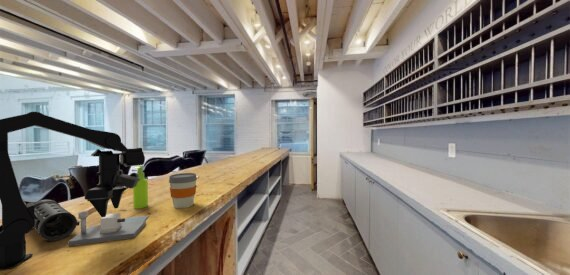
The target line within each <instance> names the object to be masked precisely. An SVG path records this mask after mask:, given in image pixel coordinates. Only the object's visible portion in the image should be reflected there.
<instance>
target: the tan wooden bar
mask: <svg viewBox="0 0 570 275" xmlns="http://www.w3.org/2000/svg"><path fill="white" fill-rule="evenodd" d="M96 212H98V211H97V210H96V209H95V207H94V206H93V205H91V206H89V207H87V208H85V209H83V210H81V211H79V212H78V219H79V220H81V219H83V218H86V219H87V218H88V217H89V216H91V215H92V214H94V213H96Z"/></svg>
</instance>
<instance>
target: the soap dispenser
mask: <svg viewBox="0 0 570 275" xmlns="http://www.w3.org/2000/svg"><path fill="white" fill-rule="evenodd" d="M143 168H144V165H137V166H136V167H134V170H137V172H136V173H138V177H139V181H138V182H137V185H136V187H134V188H132V192H133V194H132V197H133V209H144V208H146V207H148V206H149V196H148V194H149V192H148V187H149V185H148V179H147V178H145V172H144V171H143Z"/></svg>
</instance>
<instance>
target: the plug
mask: <svg viewBox="0 0 570 275" xmlns="http://www.w3.org/2000/svg"><path fill="white" fill-rule="evenodd" d="M125 219H126V218H124V217H123V218H121V212H120V213H119V212H118V213H109V214H108V213H106V216H105V217H101V218H100V225H101V229H100V232H101V233H109V232H116V231H118V230H119V229H120V228H121V225H122V222H125Z"/></svg>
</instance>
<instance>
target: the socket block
mask: <svg viewBox="0 0 570 275" xmlns="http://www.w3.org/2000/svg"><path fill="white" fill-rule="evenodd" d="M146 220H147V219H146ZM146 220H144V221H135V222H125V223H122V222H121V223H122V225H121V228H120V229H119V230H118V231H116V232H109V233H101V232H100V229H101V224H99V225H90V226H88V227H87V218H83V219H80V233H78V234H76V236H74V237H72V238H71V239H70V240H68V242H67V243H68V247H72V246H80V245H88V244H95V243H102V242H110V241H111V242H112V241H119V240H127V239H135V237H136V236H137V235H138V234H139V233H140V232H141V231H142V229H143V228H144V226H146V224H147V223H146V222H147V221H146Z"/></svg>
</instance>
